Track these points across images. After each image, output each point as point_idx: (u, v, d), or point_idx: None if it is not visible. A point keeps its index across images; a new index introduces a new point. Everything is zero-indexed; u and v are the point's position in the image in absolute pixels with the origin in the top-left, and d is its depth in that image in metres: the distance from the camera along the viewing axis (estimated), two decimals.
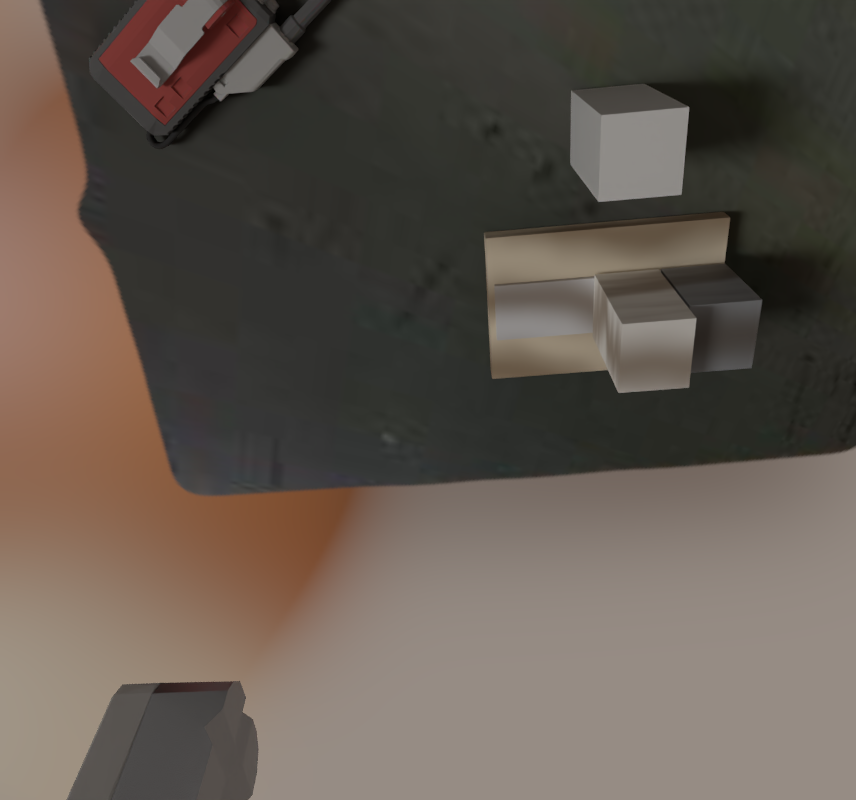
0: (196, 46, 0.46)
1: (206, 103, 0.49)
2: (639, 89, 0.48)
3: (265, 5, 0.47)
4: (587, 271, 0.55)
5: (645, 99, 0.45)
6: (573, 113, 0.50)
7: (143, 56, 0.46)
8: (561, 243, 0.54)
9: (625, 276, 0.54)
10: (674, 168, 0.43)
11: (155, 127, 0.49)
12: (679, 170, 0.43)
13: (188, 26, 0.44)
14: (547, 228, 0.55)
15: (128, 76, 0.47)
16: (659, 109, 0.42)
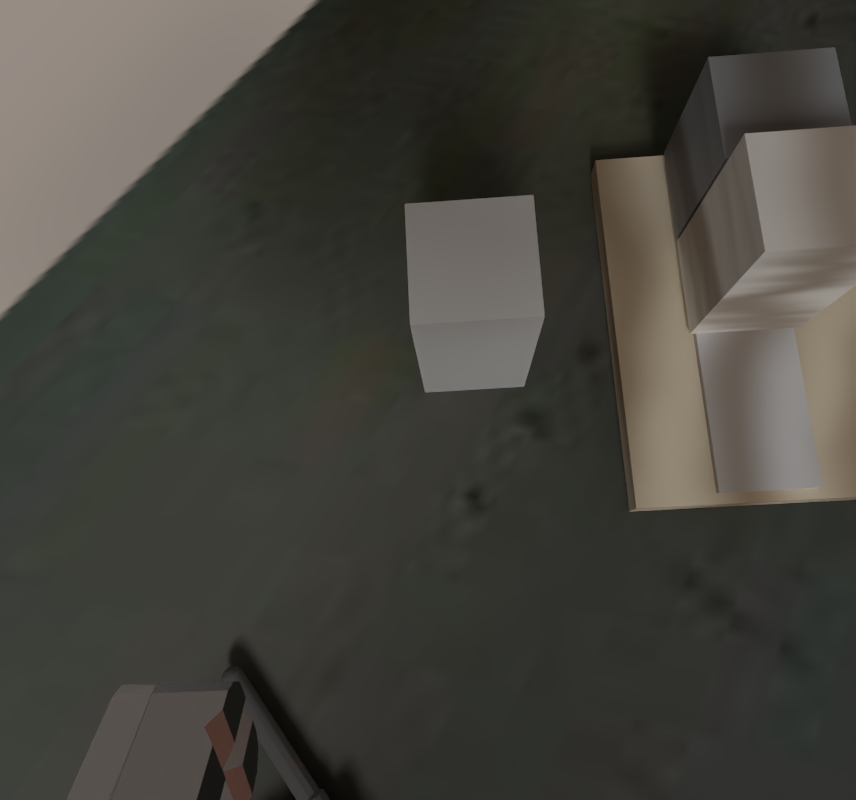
0: None
1: None
2: None
3: None
4: (686, 345, 0.35)
5: None
6: (451, 385, 0.36)
7: None
8: (641, 388, 0.35)
9: (689, 285, 0.34)
10: (492, 210, 0.28)
11: None
12: (496, 203, 0.28)
13: None
14: (619, 412, 0.35)
15: None
16: None
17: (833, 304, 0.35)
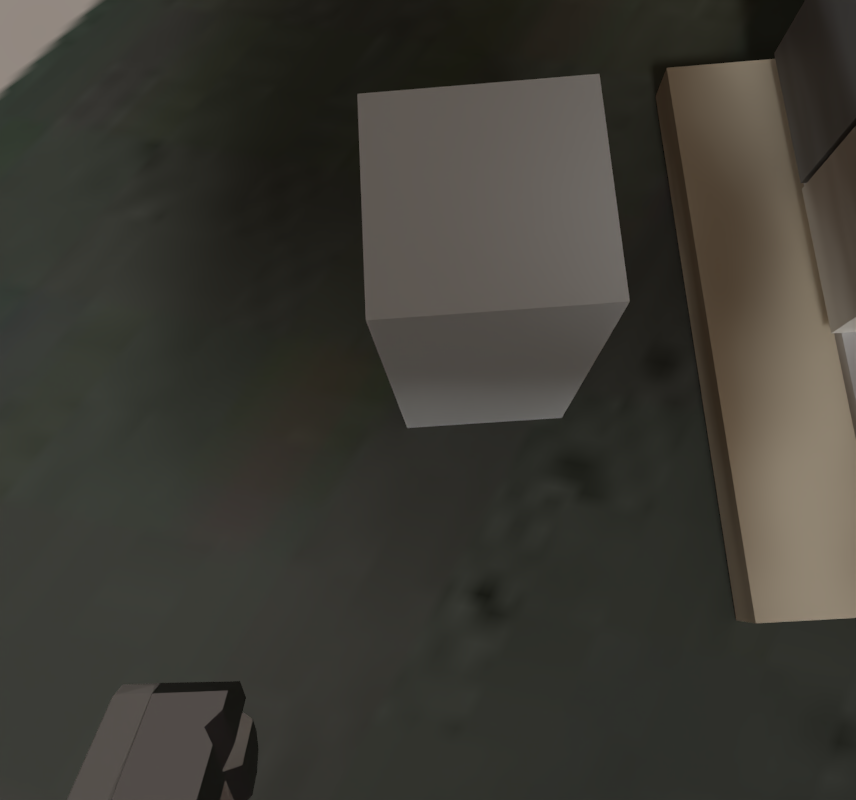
0: None
1: None
2: None
3: None
4: (823, 352, 0.22)
5: None
6: (447, 418, 0.22)
7: None
8: (754, 422, 0.21)
9: (833, 254, 0.21)
10: (523, 103, 0.15)
11: None
12: (528, 89, 0.15)
13: None
14: (716, 459, 0.22)
15: None
16: None
17: None
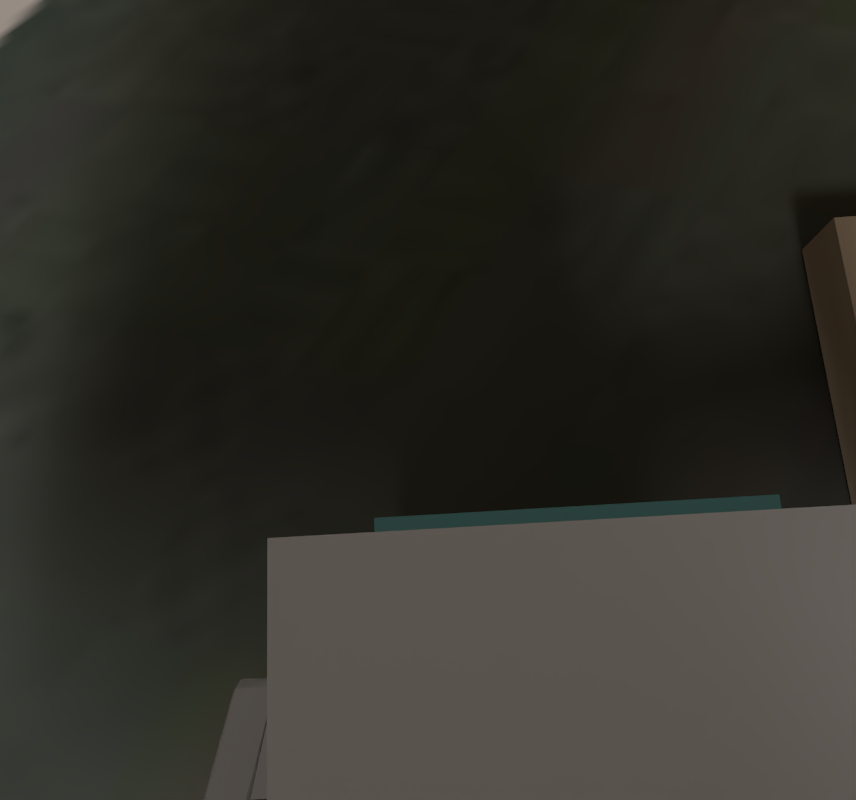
0: None
1: None
2: None
3: None
4: None
5: None
6: None
7: None
8: None
9: None
10: (726, 588, 0.05)
11: None
12: (740, 545, 0.05)
13: None
14: None
15: None
16: (274, 767, 0.05)
17: None
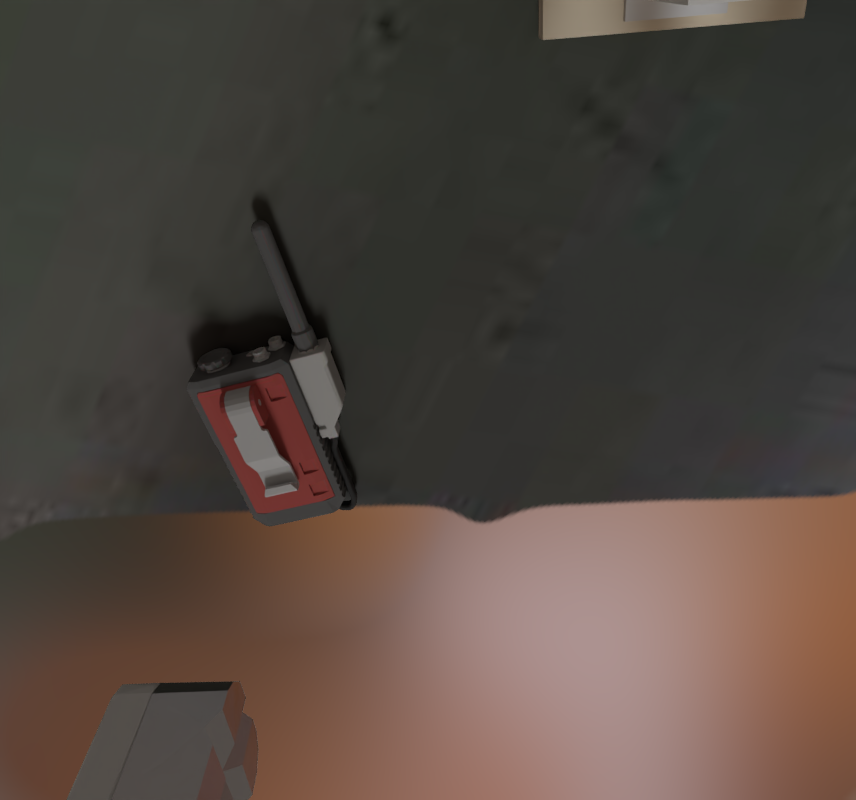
0: (278, 435, 0.44)
1: (335, 447, 0.46)
2: None
3: (273, 351, 0.43)
4: None
5: None
6: None
7: (267, 482, 0.45)
8: None
9: None
10: None
11: (332, 504, 0.47)
12: None
13: (255, 440, 0.42)
14: None
15: (280, 501, 0.46)
16: None
17: None
